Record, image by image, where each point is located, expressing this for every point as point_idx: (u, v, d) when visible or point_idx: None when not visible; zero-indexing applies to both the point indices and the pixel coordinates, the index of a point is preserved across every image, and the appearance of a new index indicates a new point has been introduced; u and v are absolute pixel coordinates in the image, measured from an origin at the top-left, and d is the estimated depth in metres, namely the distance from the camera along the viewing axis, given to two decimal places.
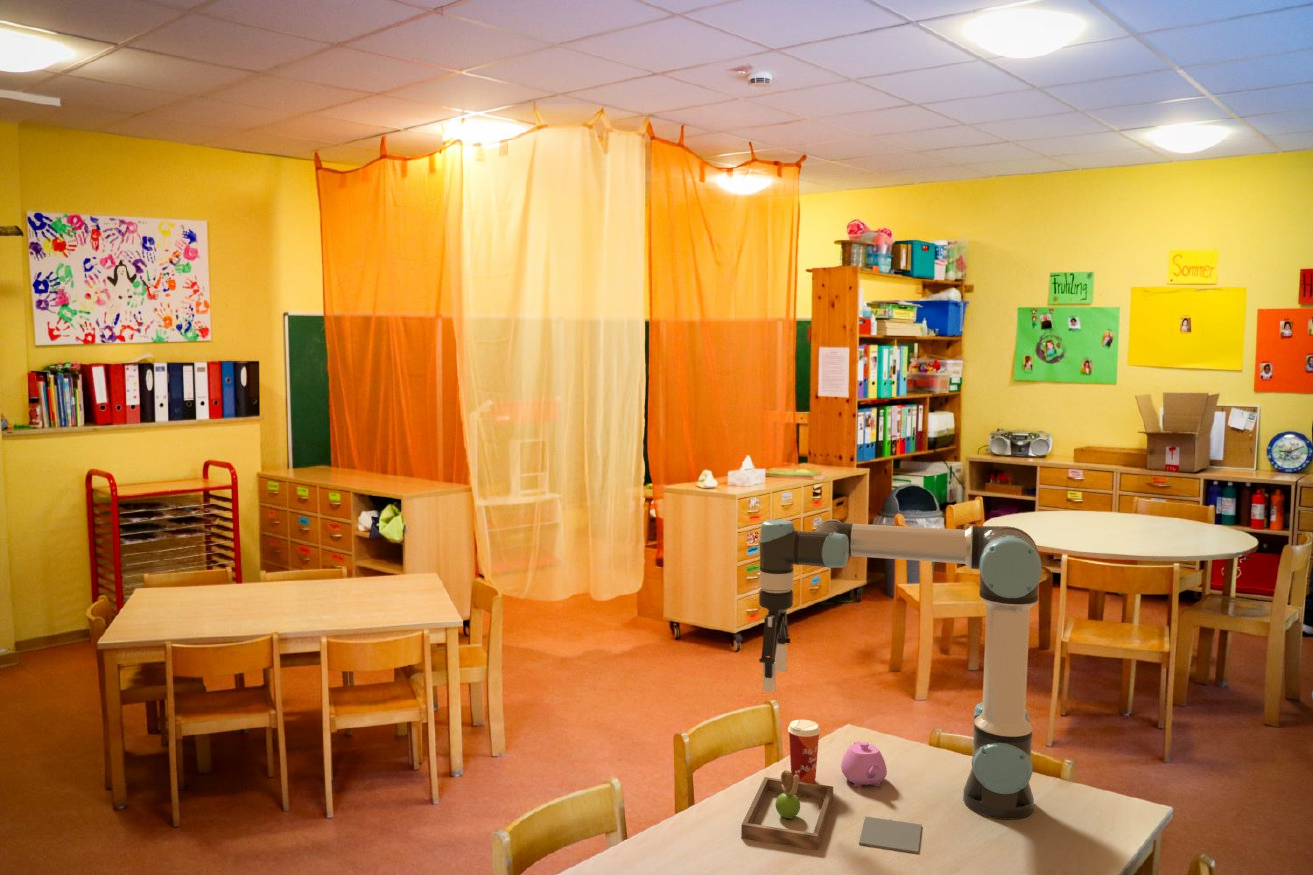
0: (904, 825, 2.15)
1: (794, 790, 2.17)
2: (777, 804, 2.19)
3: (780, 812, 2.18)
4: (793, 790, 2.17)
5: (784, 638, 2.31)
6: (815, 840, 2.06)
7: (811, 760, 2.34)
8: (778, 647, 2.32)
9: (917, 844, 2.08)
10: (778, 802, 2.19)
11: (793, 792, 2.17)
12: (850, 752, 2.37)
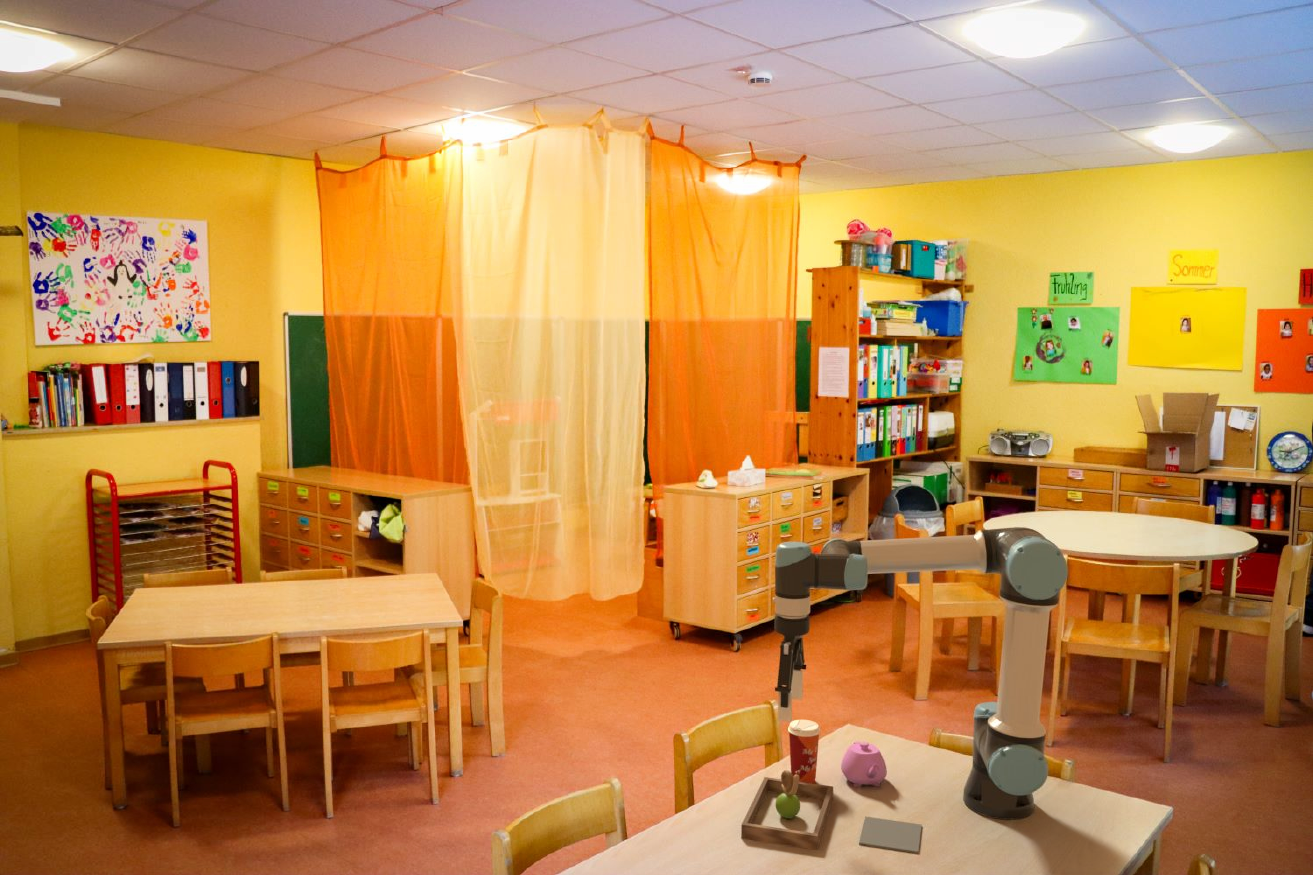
0: (904, 825, 2.15)
1: (794, 790, 2.17)
2: (777, 804, 2.19)
3: (780, 812, 2.18)
4: (793, 790, 2.17)
5: (800, 664, 2.22)
6: (815, 840, 2.06)
7: (811, 760, 2.34)
8: (794, 674, 2.23)
9: (917, 844, 2.08)
10: (778, 802, 2.19)
11: (793, 792, 2.17)
12: (849, 752, 2.37)
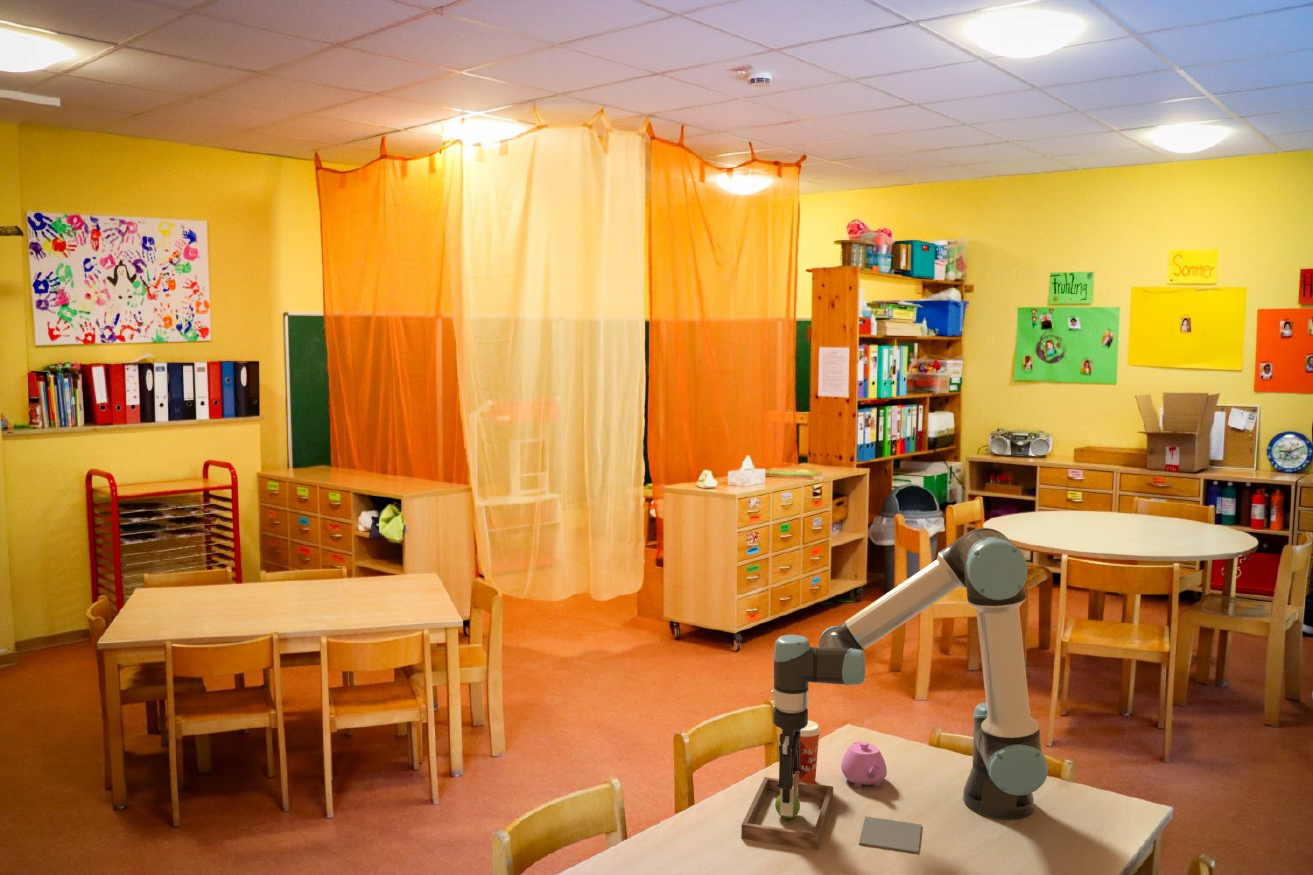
0: (904, 825, 2.15)
1: (793, 790, 2.17)
2: (777, 804, 2.19)
3: None
4: (793, 790, 2.17)
5: (796, 766, 2.21)
6: (815, 840, 2.06)
7: (811, 760, 2.34)
8: None
9: (917, 844, 2.08)
10: (778, 802, 2.19)
11: (793, 792, 2.17)
12: (849, 752, 2.37)
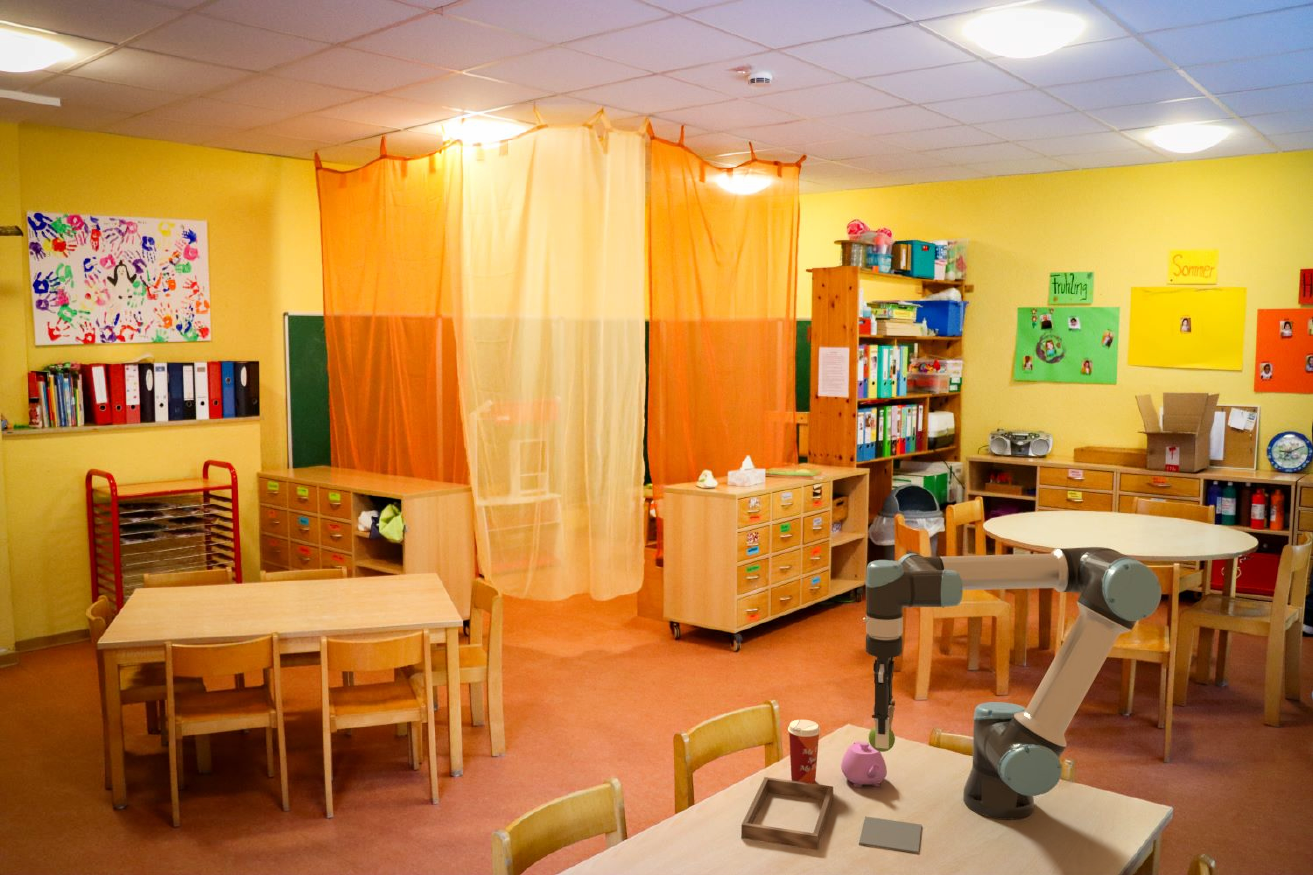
0: (904, 825, 2.15)
1: None
2: (871, 737, 2.10)
3: (874, 745, 2.09)
4: None
5: (889, 697, 2.13)
6: (815, 840, 2.06)
7: (811, 760, 2.34)
8: None
9: (917, 844, 2.08)
10: (872, 735, 2.10)
11: None
12: (850, 752, 2.37)
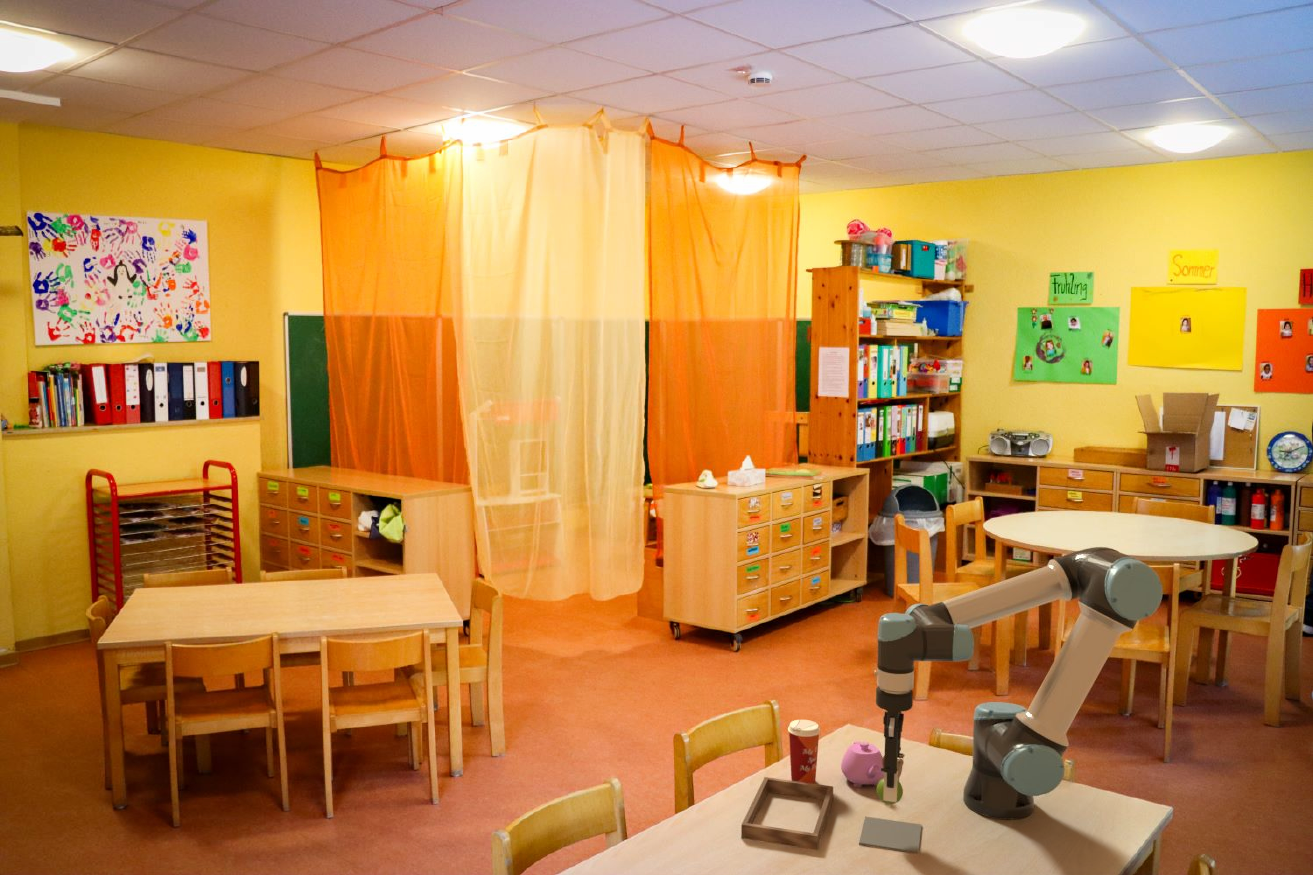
0: (904, 825, 2.15)
1: None
2: (879, 789, 2.10)
3: (882, 798, 2.10)
4: None
5: (898, 750, 2.13)
6: (815, 840, 2.06)
7: (811, 760, 2.34)
8: None
9: (917, 844, 2.08)
10: (880, 787, 2.10)
11: None
12: (849, 752, 2.37)
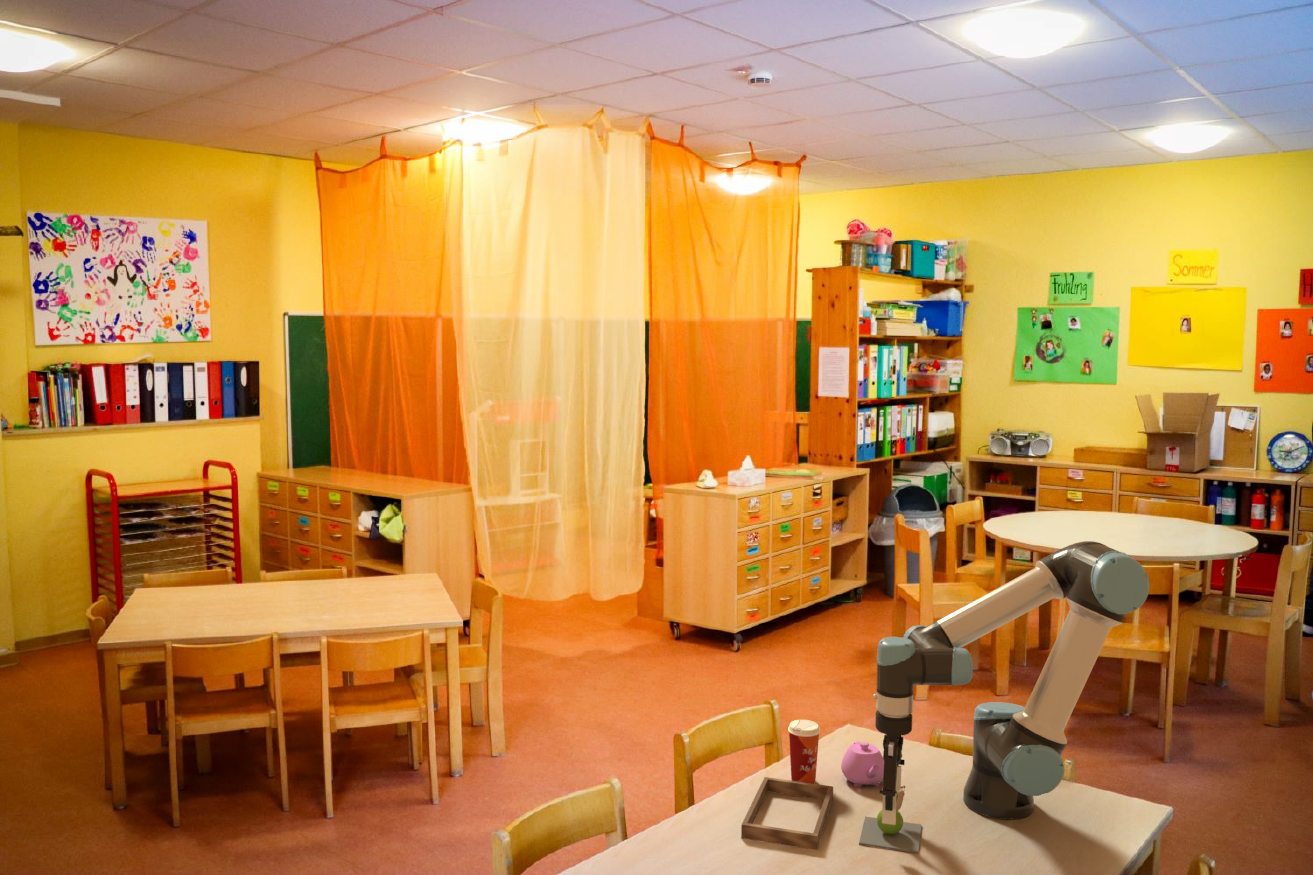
0: (904, 825, 2.15)
1: (898, 806, 2.09)
2: (879, 820, 2.11)
3: (883, 828, 2.10)
4: (897, 806, 2.09)
5: None
6: (815, 840, 2.06)
7: (811, 760, 2.34)
8: None
9: (917, 844, 2.08)
10: (880, 817, 2.11)
11: (897, 808, 2.09)
12: (849, 752, 2.37)
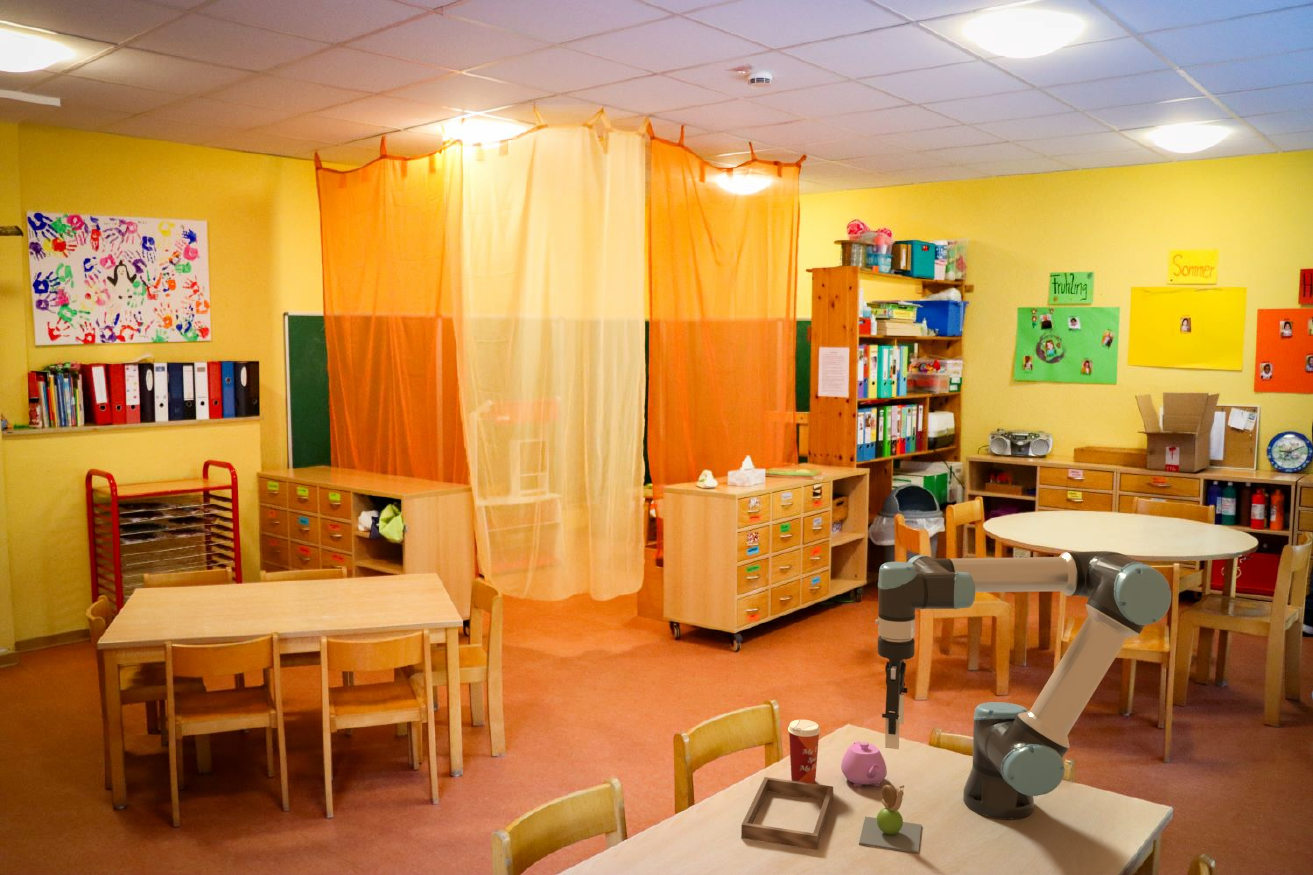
0: (904, 825, 2.15)
1: (897, 806, 2.09)
2: (879, 820, 2.11)
3: (883, 828, 2.10)
4: (897, 806, 2.09)
5: (902, 688, 2.15)
6: (815, 840, 2.06)
7: (811, 760, 2.34)
8: None
9: (917, 844, 2.08)
10: (880, 818, 2.11)
11: (897, 808, 2.09)
12: (849, 752, 2.37)
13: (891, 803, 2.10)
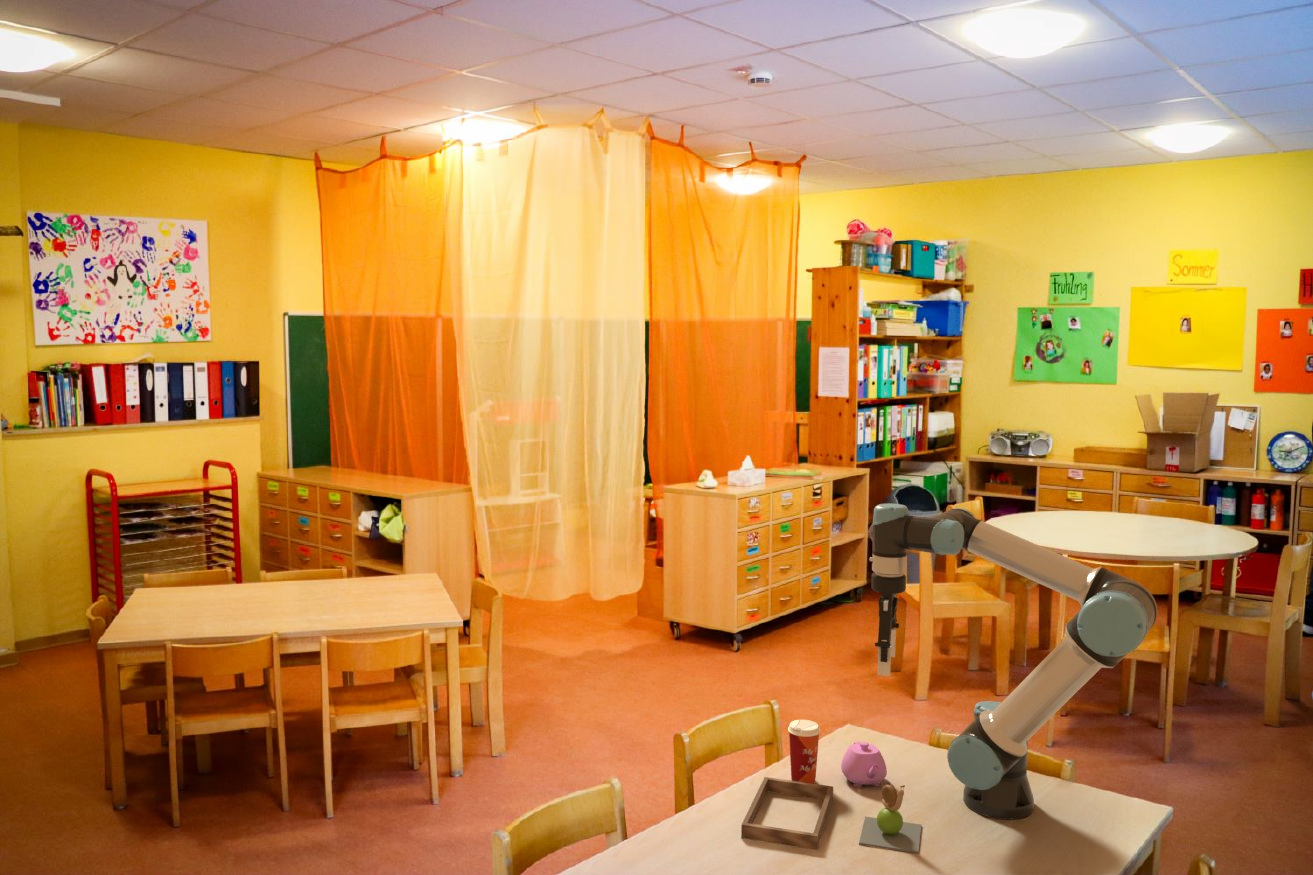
0: (904, 825, 2.15)
1: (898, 805, 2.09)
2: (879, 820, 2.11)
3: (883, 828, 2.10)
4: (897, 805, 2.09)
5: (893, 623, 2.30)
6: (815, 840, 2.06)
7: (811, 760, 2.34)
8: None
9: (917, 844, 2.08)
10: (880, 818, 2.11)
11: (897, 807, 2.09)
12: (849, 752, 2.37)
13: (891, 803, 2.10)
